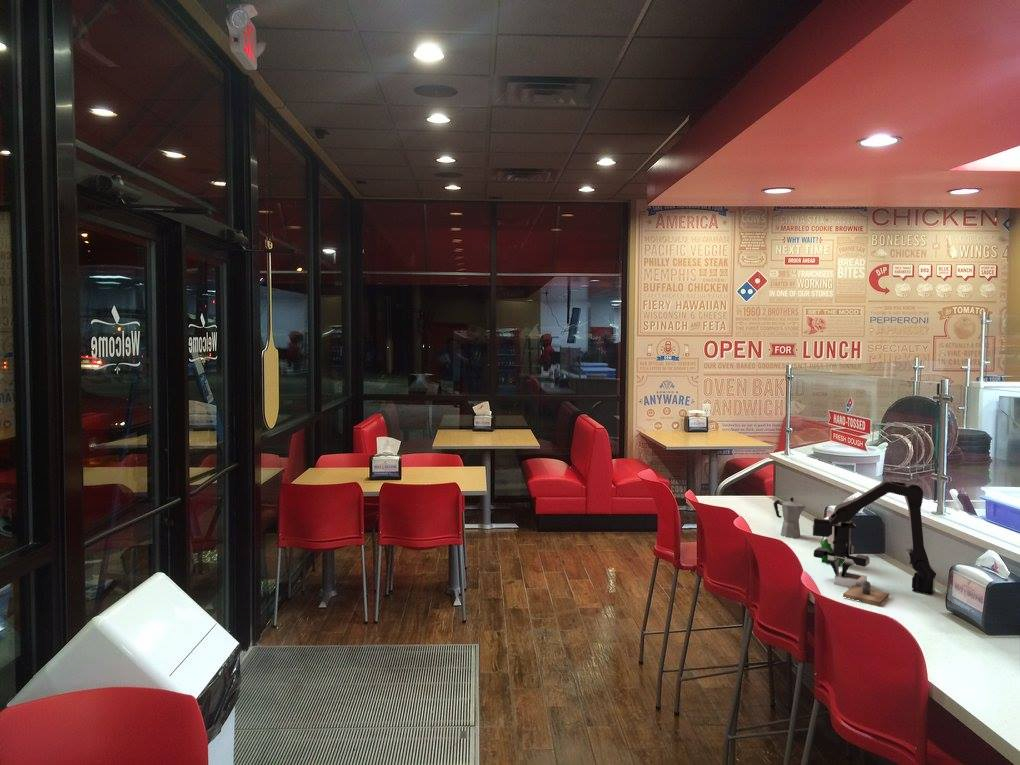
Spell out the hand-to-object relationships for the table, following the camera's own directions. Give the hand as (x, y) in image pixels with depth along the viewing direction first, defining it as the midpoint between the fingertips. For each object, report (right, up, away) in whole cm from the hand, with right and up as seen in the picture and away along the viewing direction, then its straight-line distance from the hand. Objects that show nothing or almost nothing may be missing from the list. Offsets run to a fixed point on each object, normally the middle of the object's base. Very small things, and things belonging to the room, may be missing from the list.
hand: (840, 578), depth 275 cm
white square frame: (+3, -1, -2) cm, 4 cm away
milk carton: (+8, 0, +25) cm, 26 cm away
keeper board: (+1, -2, -17) cm, 17 cm away
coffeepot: (+6, +3, +66) cm, 66 cm away
